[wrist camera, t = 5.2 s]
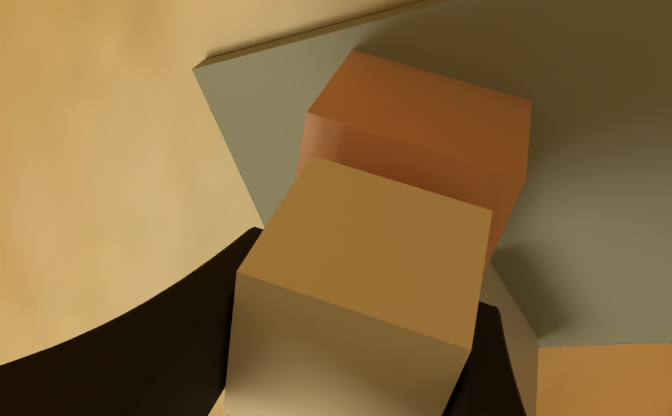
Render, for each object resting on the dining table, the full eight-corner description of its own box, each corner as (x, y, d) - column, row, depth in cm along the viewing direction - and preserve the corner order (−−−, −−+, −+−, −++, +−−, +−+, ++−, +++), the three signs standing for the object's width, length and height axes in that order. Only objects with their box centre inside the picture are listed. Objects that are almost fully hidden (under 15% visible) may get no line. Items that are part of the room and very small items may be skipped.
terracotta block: (531, 101, 17) (525, 179, 14) (473, 242, 20) (458, 332, 17) (352, 49, 17) (306, 112, 14) (323, 194, 20) (279, 272, 17)
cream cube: (492, 210, 13) (471, 350, 10) (441, 337, 16) (411, 482, 12) (311, 155, 14) (236, 271, 10) (289, 286, 16) (223, 412, 13)
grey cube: (482, 250, 20) (468, 341, 17) (538, 338, 21) (535, 438, 18) (377, 284, 22) (346, 372, 19) (434, 363, 23) (414, 457, 20)
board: (831, -110, 13) (845, -104, 13) (814, 317, 19) (823, 337, 18) (203, 59, 20) (192, 69, 19) (329, 339, 25) (323, 354, 25)
